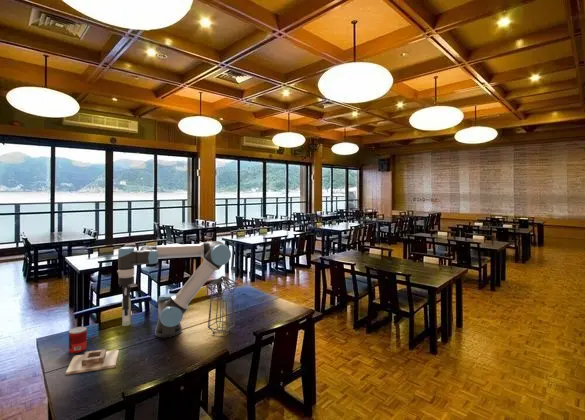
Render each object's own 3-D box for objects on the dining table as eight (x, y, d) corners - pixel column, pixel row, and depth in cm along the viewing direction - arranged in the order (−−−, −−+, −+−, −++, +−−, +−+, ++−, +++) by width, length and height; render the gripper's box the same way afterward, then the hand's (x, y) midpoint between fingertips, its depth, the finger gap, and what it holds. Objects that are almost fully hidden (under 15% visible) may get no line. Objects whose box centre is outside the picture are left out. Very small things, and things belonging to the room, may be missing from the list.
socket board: (118, 351, 173) (118, 344, 173) (115, 367, 158) (115, 359, 158) (73, 358, 165) (73, 350, 165) (65, 374, 151) (65, 366, 150)
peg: (131, 322, 179) (130, 297, 178) (130, 325, 175) (130, 299, 174) (122, 323, 177) (122, 297, 177) (122, 326, 174) (121, 300, 173)
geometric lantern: (203, 336, 195) (204, 277, 194) (216, 327, 210) (217, 272, 209) (227, 340, 190) (228, 280, 189) (239, 330, 205) (240, 274, 204)
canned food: (90, 347, 176) (90, 327, 176) (76, 354, 169) (76, 333, 168) (78, 345, 178) (78, 325, 178) (65, 352, 171) (65, 331, 170)
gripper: (119, 273, 181) (120, 314, 183) (116, 281, 166) (117, 326, 167) (135, 272, 184) (135, 313, 185) (133, 279, 169) (133, 324, 170)
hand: (126, 319), depth 176 cm, fingers closed on peg, 4 cm apart
